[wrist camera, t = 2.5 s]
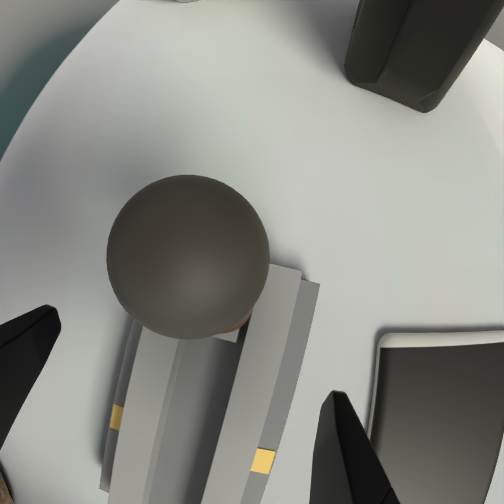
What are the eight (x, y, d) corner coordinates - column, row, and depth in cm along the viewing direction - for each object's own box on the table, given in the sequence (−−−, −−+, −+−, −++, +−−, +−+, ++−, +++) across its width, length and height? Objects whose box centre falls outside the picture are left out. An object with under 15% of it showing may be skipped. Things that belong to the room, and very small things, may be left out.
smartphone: (504, 330, 20) (517, 328, 18) (442, 576, 13) (449, 583, 11) (373, 333, 20) (383, 332, 18) (318, 606, 13) (321, 616, 11)
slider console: (248, 519, 16) (248, 550, 12) (110, 478, 16) (86, 500, 12) (313, 288, 20) (328, 277, 16) (163, 251, 21) (146, 232, 17)
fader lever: (247, 344, 17) (246, 367, 5) (185, 327, 17) (53, 302, 5) (263, 282, 18) (295, 163, 6) (201, 266, 18) (119, 131, 6)
